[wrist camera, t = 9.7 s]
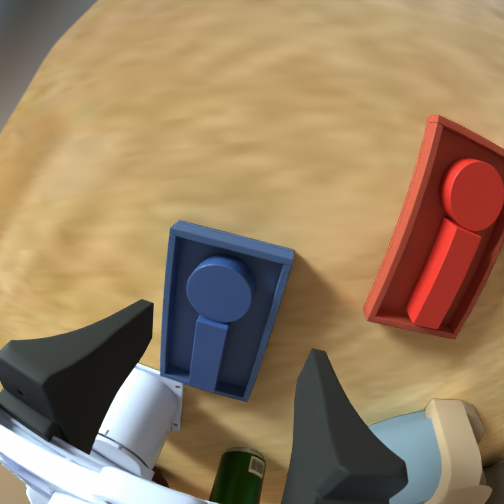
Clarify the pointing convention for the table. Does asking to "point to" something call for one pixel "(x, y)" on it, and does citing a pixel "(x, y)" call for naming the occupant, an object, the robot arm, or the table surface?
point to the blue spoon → (216, 312)
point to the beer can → (239, 477)
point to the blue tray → (242, 330)
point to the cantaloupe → (495, 483)
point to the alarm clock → (438, 453)
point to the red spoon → (455, 237)
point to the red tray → (434, 232)
